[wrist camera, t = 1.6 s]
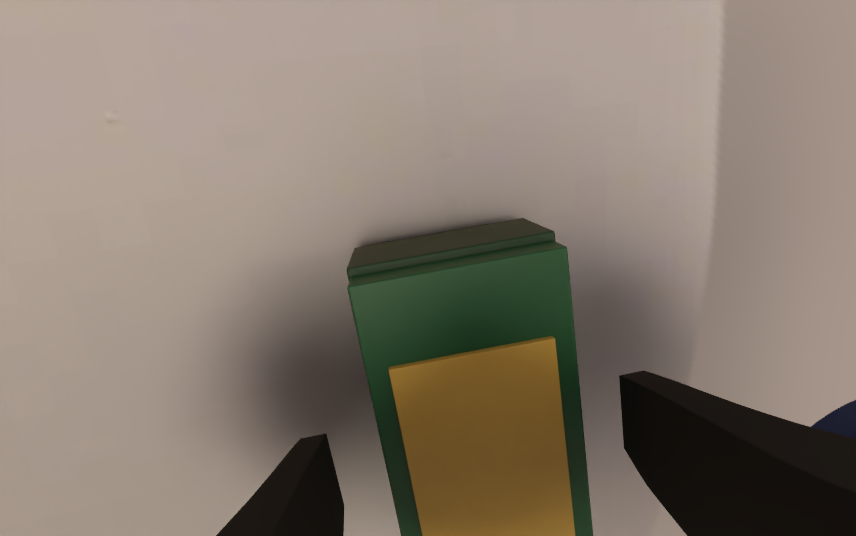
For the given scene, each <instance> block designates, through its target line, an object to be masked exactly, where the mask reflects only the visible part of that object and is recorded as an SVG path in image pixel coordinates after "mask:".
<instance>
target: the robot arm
mask: <svg viewBox="0 0 856 536" xmlns="http://www.w3.org/2000/svg"><path fill="white" fill-rule="evenodd" d="M619 378H620V394H621V409H622V424H623V439H624V449H625V450H626V452H627V454H628V455H629V457H630V459H631V460H632V462H633V464H634V465H635V467H636V469H637V470H638V472H639V473H640V475H641V477H642V478H643V480H644V481H645V483H646V484H647V486H648V487H649V488H650V490H651V491H652V492H653V494H654V495H655V496H656V497H657V499H658V500H659V501H660V502H661V504H662V505H663V506H664V507H665V509H666V510H667V511H668V512H669V514H670V515H671V516H672V517H673V518H674V520H675V521H676V522H677V523H678V524H679V526H680V527H681V528H682V529H683V531H684V532H685V533H686V534H687V536H856V439H854V438H850V437H847V436H843V435H839V434H835V433H831V432H827V431H823V430H820V429H816V428H812V427H808V426H805V425H801V424H798V423H794V422H791V421H788V420H785V419H782V418H778V417H775V416H772V415H769V414H766V413H762V412H760V411H756V410H754V409H751V408H748V407H745V406H742V405H739V404H736V403H733V402H730V401H728V400H725V399H722V398H719V397H717V396H714V395H711V394H709V393H706V392H703V391H700V390H698V389H695V388H692V387H690V386H687V385H684V384H682V383H679V382H676V381H673V380H671V379H668V378H665V377H662V376H659V375H656V374H653V373H650V372H646V371H640V372H635V373H630V374H625V375H620V376H619ZM343 530H344V503H343V499H342V495H341V491H340V487H339V483H338V479H337V475H336V471H335V467H334V463H333V459H332V455H331V451H330V447H329V443H328V439H327V435H326V434H321V435H316V436H311V437H306V438H301V439H300V440H299V441H298V442H297V443H296V444H295V445H294V447H293V448H292V449H291V450H290V451H289V453H288V454H287V455H286V456H285V458H284V459H283V460H282V461H281V462H280V464H279V465H278V466H277V467H276V469H275V470H274V471H273V472H272V473H271V475H270V476H269V477H268V478H267V479H266V481H265V482H264V483H263V484H262V485H261V487H260V488H259V489H258V490H257V491H256V492H255V494H254V495H253V496H252V497H251V498H250V499H249V501H248V502H247V503H246V504H245V505H244V506H243V507H242V508H241V509H240V510H239V511H238V513H237V514H236V515H235V516H234V517H233V518H232V519H231V520H230V521H229V522H228V523H227V524H226V526H225V527H224V528H223V529H222V530H221V531H220V532H219V533H218V534H217V535H216V536H343Z"/></svg>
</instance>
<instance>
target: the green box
mask: <svg viewBox="0 0 856 536" xmlns="http://www.w3.org/2000/svg"><path fill="white" fill-rule="evenodd" d="M347 275H348V279H349V284H348V288H347V289H348V293H349V298H350V302H351V307H352V312H353V316H354V321H355V325H356V330H357V335H358V339H359V344H360V348H361V353H362V358H363V362H364V367H365V371H366V376H367V381H368V385H369V390H370V394H371V399H372V404H373V408H374V413H375V417H376V422H377V427H378V431H379V436H380V440H381V445H382V449H383V454H384V459H385V463H386V468H387V472H388V477H389V482H390V486H391V491H392V495H393V500H394V505H395V509H396V514H397V518H398V523H399V528H400V532H401V536H593V530H592V519H591V508H590V497H589V486H588V475H587V464H586V453H585V442H584V431H583V420H582V409H581V398H580V387H579V376H578V364H577V353H576V342H575V331H574V320H573V309H572V298H571V287H570V276H569V265H568V254H567V248H566V247H565V246H563V245H561V244H559V243H557V242H555V233H554V231H552V230H549V229H547V228H545V227H542V226H540V225H538V224H535V223H533V222H531V221H528V220H526V219H523V218H521V219H515V220H510V221H504V222H498V223H493V224H487V225H481V226H476V227H470V228H465V229H459V230H453V231H448V232H442V233H436V234H431V235H425V236H420V237H414V238H408V239H403V240H397V241H392V242H386V243H380V244H375V245H369V246H363V247H358V248H355V249H354V251H353V254H352V257H351V259H350V262H349V264H348V267H347Z"/></svg>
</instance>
